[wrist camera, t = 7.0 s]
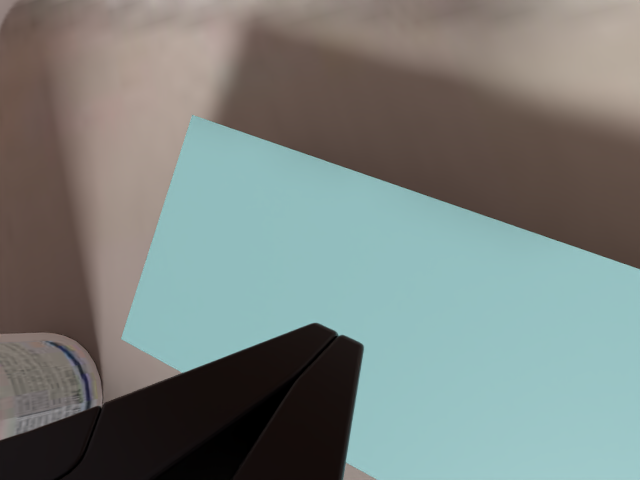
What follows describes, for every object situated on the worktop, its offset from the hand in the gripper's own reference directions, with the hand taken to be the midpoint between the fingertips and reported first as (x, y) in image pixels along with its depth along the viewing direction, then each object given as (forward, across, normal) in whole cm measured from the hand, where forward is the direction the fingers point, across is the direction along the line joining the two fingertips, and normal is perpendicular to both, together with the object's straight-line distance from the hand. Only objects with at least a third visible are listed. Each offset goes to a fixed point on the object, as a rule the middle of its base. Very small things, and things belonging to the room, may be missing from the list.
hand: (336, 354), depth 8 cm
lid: (+7, 0, +5) cm, 8 cm away
